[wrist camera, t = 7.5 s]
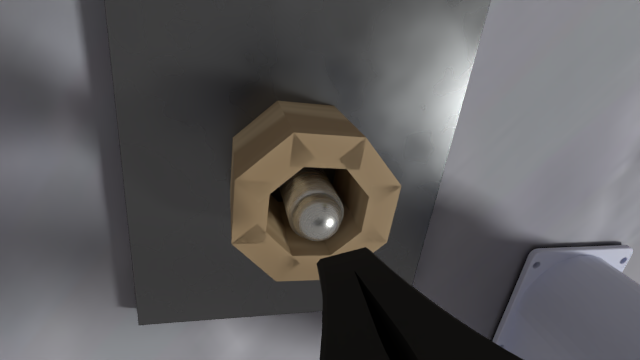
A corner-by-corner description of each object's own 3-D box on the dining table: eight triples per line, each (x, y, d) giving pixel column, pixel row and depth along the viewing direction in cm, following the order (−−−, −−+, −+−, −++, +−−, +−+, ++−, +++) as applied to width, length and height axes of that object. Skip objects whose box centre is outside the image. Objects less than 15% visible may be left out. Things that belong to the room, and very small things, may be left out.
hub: (399, 292, 22) (446, 372, 17) (142, 309, 19) (114, 415, 14) (477, -7, 16) (587, -10, 11) (106, -67, 12) (29, -110, 7)
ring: (382, 171, 17) (423, 215, 14) (288, 243, 18) (303, 304, 14) (310, 73, 15) (336, 97, 11) (201, 163, 15) (194, 212, 12)
